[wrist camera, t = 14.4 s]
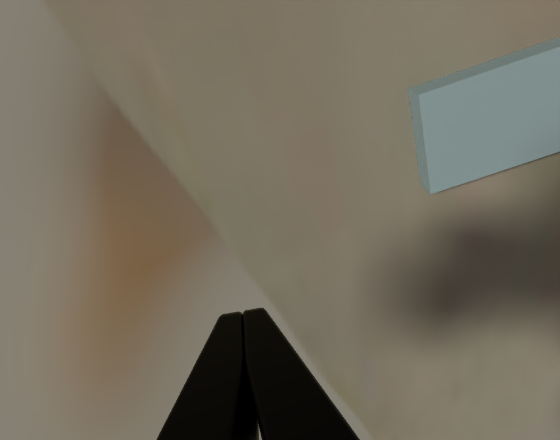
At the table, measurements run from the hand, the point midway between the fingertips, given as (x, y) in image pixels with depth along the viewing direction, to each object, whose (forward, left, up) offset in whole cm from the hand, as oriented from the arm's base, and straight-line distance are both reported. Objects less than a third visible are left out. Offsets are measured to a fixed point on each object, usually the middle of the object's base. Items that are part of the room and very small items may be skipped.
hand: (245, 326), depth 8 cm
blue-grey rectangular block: (+4, +8, -12) cm, 15 cm away
